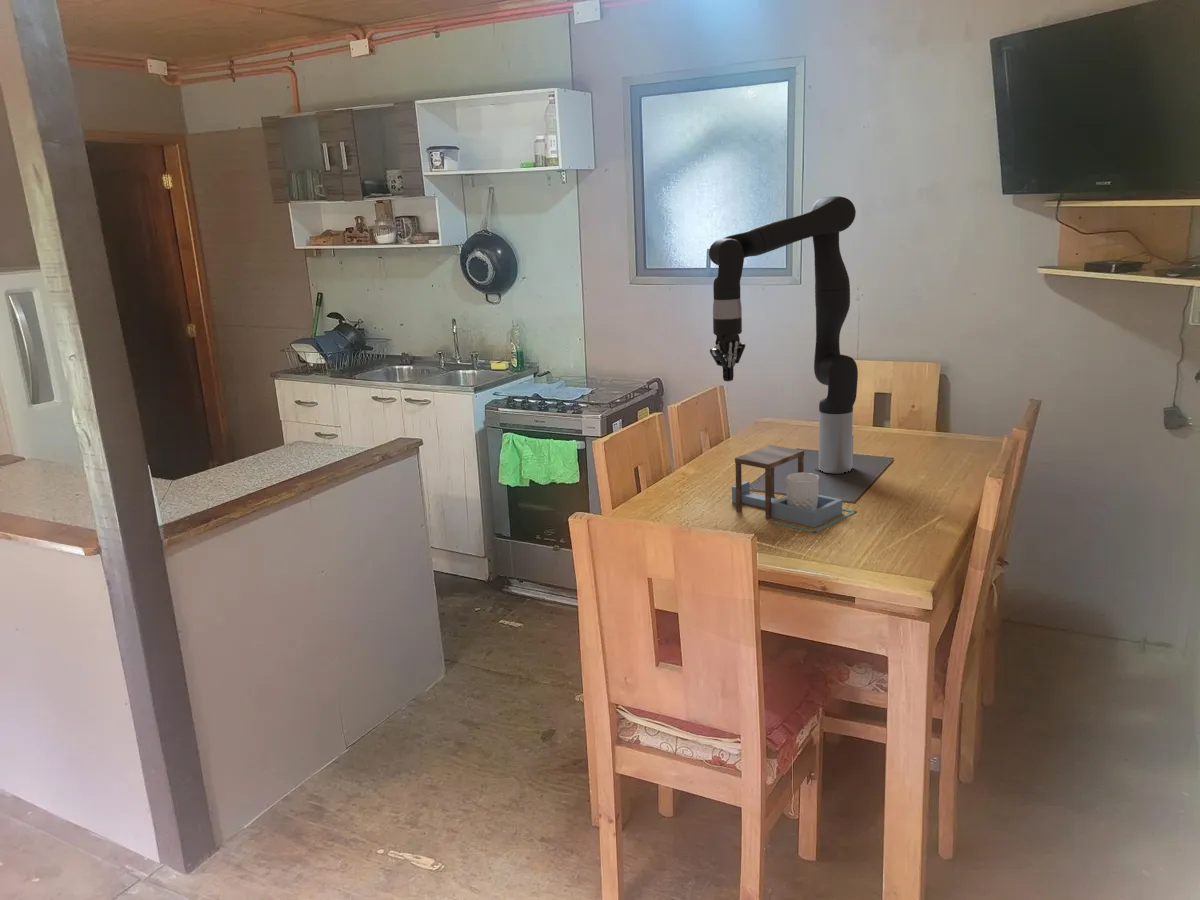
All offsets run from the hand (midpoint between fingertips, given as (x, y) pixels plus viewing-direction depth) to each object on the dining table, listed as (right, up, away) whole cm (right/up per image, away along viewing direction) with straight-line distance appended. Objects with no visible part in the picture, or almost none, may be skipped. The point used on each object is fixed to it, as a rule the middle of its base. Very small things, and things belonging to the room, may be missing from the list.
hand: (728, 380), depth 234 cm
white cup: (+15, -35, -21) cm, 44 cm away
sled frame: (+11, -34, -17) cm, 39 cm away
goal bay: (+17, -35, -24) cm, 46 cm away
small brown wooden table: (+8, -34, -15) cm, 37 cm away
